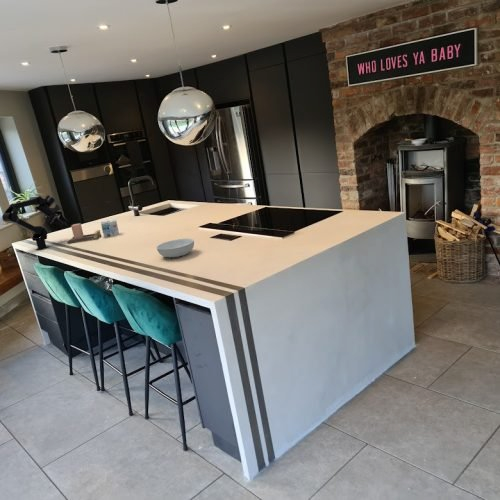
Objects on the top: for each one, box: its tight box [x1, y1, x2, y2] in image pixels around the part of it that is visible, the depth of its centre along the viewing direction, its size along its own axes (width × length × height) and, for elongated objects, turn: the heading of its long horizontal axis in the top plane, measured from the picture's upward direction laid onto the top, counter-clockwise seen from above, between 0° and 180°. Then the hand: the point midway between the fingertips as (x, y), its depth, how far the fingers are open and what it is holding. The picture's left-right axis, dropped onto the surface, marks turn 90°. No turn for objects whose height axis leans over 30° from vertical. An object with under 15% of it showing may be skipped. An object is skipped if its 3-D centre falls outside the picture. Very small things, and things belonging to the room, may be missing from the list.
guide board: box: [66, 229, 102, 245], centre depth 340 cm, size 11×21×4 cm, turn 93°
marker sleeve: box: [70, 222, 85, 239], centre depth 338 cm, size 6×5×10 cm
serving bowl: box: [156, 238, 195, 259], centre depth 264 cm, size 21×21×7 cm
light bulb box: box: [100, 219, 120, 239], centre depth 339 cm, size 11×7×11 cm, turn 105°
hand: (66, 223), depth 337 cm, fingers open, 8 cm apart
